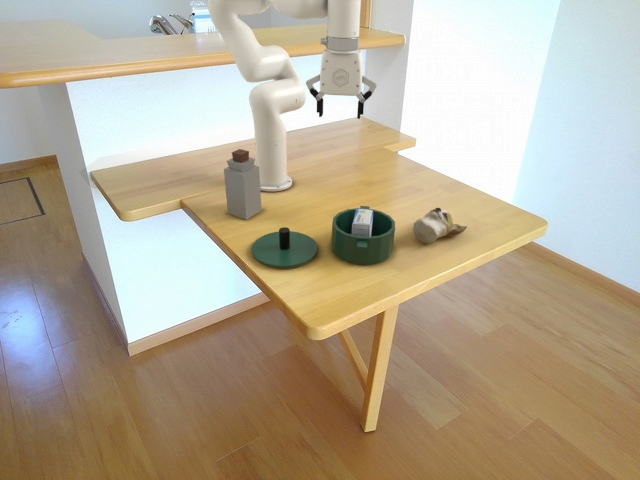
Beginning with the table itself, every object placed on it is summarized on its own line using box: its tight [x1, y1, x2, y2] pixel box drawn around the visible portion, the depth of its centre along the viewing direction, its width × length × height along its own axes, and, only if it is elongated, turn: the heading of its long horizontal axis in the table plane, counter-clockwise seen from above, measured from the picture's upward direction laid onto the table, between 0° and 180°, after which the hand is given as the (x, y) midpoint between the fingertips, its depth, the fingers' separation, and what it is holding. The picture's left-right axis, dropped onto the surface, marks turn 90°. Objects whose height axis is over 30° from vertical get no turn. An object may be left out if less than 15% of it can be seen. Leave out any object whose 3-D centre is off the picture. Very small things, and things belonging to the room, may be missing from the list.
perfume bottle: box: [223, 148, 262, 220], centre depth 132 cm, size 7×7×18 cm
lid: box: [251, 226, 318, 269], centre depth 117 cm, size 16×16×6 cm
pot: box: [331, 205, 396, 266], centre depth 119 cm, size 15×21×8 cm
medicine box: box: [352, 209, 374, 237], centre depth 118 cm, size 8×4×9 cm, turn 170°
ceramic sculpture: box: [413, 207, 468, 245], centre depth 124 cm, size 11×9×15 cm
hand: (339, 116), depth 121 cm, fingers open, 9 cm apart
